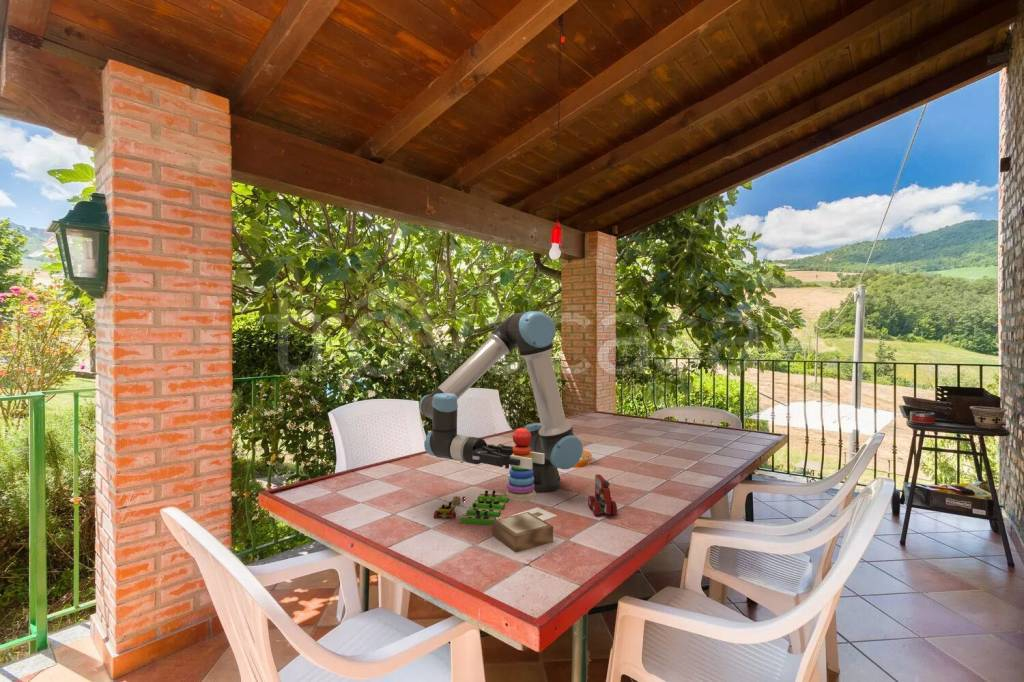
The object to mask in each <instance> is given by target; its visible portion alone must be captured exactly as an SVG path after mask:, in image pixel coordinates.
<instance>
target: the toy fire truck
mask: <svg viewBox="0 0 1024 682" xmlns="http://www.w3.org/2000/svg"><path fill="white" fill-rule="evenodd" d="M594 477H595V478H594V482H595V487H594V495H589V496H588V498H587V504H588V508H589V509H590V510H592V514H593V515H594V516H599V515H601V513H605V515H612V516H615V515H617V513H618V512H617V511H618V507H617V503H616V501H615V500H613V499H612V497H611V495H612V494H611V490H610V482H609V481H608V480H606V479H605V478H604V476H603V475H602V474H599V473H598V474H595V476H594Z"/></svg>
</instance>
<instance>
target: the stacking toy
mask: <svg viewBox="0 0 1024 682" xmlns="http://www.w3.org/2000/svg"><path fill="white" fill-rule="evenodd" d="M512 440H513V443H514V444H515V445H514V446H512V447H513V452H514V453H513V454H512V455H514V456H520V457H526V458H531V455H530V454H529V453H530V452H531V448H530V446H528V444H529V443H530V441H531V434H530V432H529V431H528V430H527V429H525V427H521V428H517V429H516V430H514V432H513V434H512ZM533 482H534V477H533V469H531V470H530V469H525V468H520V467H514V466H510V467H509V475H508V482H507V483H506V492H505V493H506V494H505V495H507V497H508V498H509V500H512V501H516V502H527V501H531V500H532V499H534V498H535V497H536V494H537V493H536V492H535V490H534V483H533Z"/></svg>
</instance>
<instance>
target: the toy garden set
mask: <svg viewBox="0 0 1024 682" xmlns="http://www.w3.org/2000/svg"><path fill="white" fill-rule="evenodd" d="M496 493H497V492H496V490H495V489H494V490H493V491H492V493H491V494H489V490H485V491H484V493H479V495H478V496H477V499H475V500H474V501H473V502H472V505H471V507H470V506H469V507H468V508H467V510H466V514H462V516H461V517H460V519H459V524H461V523H466V524H465V525H474V524H478V525H477V526H488V525H490V526H491V527H492V521H493V520H497V518H496V517H498V516H499V517H500V515H501V513H502V511H504V509H505V507H504V506H506V504H507V503H508V502H507V501H509V500H510V499H509V498H508V497H507V495H506V494H496ZM465 497H466V496H462V498H461V496H459V495H458V496H457V495H456V496H453V497H452V499H451V501H449V502H448V504H442V505H441V506H440V507H438V508H437V510H434V512H433V519H438V518H439V517H441V519H447V518H448V517H450V520H451V519H454V518H455V517H457V512H456V511H455V509H456V506H460V505H461V500H462V502H463V501H465V500H466V498H465ZM464 498H465V499H464ZM508 499H509V500H508ZM453 504H454V505H453ZM459 504H460V505H459ZM503 508H504V509H503ZM500 509H501V510H500ZM499 514H500V515H499ZM438 516H439V517H438ZM499 517H498V518H499ZM455 519H456V518H455ZM455 519H454V520H455Z"/></svg>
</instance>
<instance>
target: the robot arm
mask: <svg viewBox="0 0 1024 682" xmlns="http://www.w3.org/2000/svg"><path fill="white" fill-rule="evenodd" d="M556 332H557V330H556V324H555V323H554V320H553V319H552V318H551V317H550V316H549V315H548V314H547V313H544V312H542V311H536V310H530V311H525V312H517V313H513V314H511V315H509V316H508V317H507V318H506V319H504V320H503V321H502V322H501V323H500V324H499V325H498V326H497V327H496V328H495V329H494V330H493V331H491V332H490V333H489V335H488V339H487V340H486V341H485V342H484V343H483V344H482V345H481V346H480V347H479V348H478V349H477V350H476V351H475V352H474V353H473V354H471V355H470V357H468V358H467V359H466V360H465V361H464V362H463V363H462V364H461V365H460V366H459V367H458V368H456V369H455V371H454V372H453V373H451V375H450V376H448V377H447V378H446V379H445V380H444V381H443V382H442V383H440V385H439V386H438V387H437V388H436V389H434V390H433V391H432V392H431V393H430V394H429V393H428V394H426V395H424V396H422V397H421V398H420V401H419V404H418V407H419V411H420V412H421V413H422V415H423V416H424V417H426V418H428V419H429V420H432V428H431V429H432V430H431V431H429V432H428V433H427V435H426V436H425V440H424V442H423V443H424V444H423V445H424V450H425V452H426V453H427V454H428V455H429V456H433V457H436V458H438V459H439V458H440V459H446V460H447V459H448V460H453V461H459V462H460V464H464V463H468V464H473V465H481V464H485V465H489V466H490V465H491V466H494V467H498V468H503V467H504V469H506V470H507V469H510V467H511V466H514V467H520V468H525V469H530V470H531V469H533V477H534V482H533V483H534V490H535V493H536V492H537V493H547V492H549V493H550V492H555V491H557V490H559V489H560V488H561V487H562V479H561V475H560V474H559V473H560V472H559V470H558V469H561V470H570V469H572V468H573V467H575V466H577V464H578V463H579V462H580V459H581V458H582V456H583V454H584V446H583V442H582V441H581V440H580V438H578V436H575V434H574V429H573V425H572V423H570V422H569V421H567V418H566V415H565V411H564V407H563V403H562V399H561V395H560V388H559V385H558V380H557V377H556V371H555V368H554V365H553V364H554V363H553V359H552V355H551V353H552V352H553V350H554V344H553V341H554V338H555V337H556ZM515 349H517V350H518V354H519V357H521V358H523V359H524V360H525V363H526V368H527V372H528V376H529V380H530V384H531V388H532V393H533V396H534V401H535V404H536V409H537V413H538V417H539V422H537V423H536V422H535V423H529V424H527V425H526V424H525V427H524V428H525V429H527V430H528V431H529V432H530V434H531V441H530V443H529V444H528V446H530V448H531V452H530V453H529V454H530V455H531V458H526V457H520V456H514V455H512V454H513V453H514V452H513V447H514V446H512V445H505V444H502V443H500V444H498V445H495V444H487V442H486V441H485V439H483V438H481V437H475V436H470V435H462V434H458V407H459V404H458V399H460V397H462V396H463V395H464V394H465V393H466V392H467V391H468V390H469V389H470V388H471V387H472V386H473V385H475V383H477V381H478V380H479V379H480V378H482V376H483V375H485V374H486V373H487V372H488V371H489V369H491V368H492V367H493V366H494V365H495V364H496V363H497V362H498V361H499V360H500V359H501V358H502V357H503V356H505V355H509V354H511V352H513V351H514V350H515Z"/></svg>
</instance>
